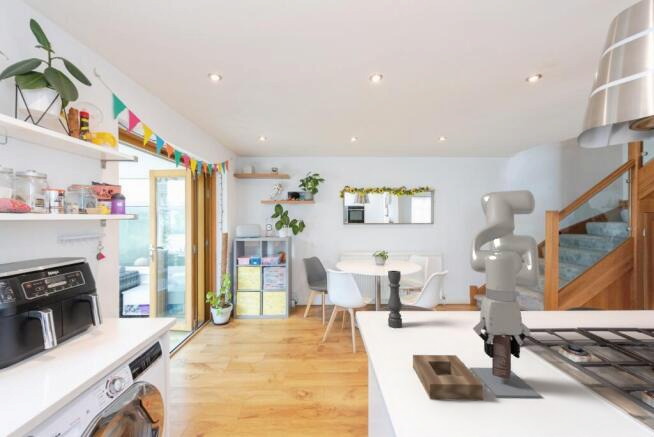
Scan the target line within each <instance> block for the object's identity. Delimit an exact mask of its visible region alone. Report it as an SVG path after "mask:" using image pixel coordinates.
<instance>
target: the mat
mask: <svg viewBox="0 0 654 437" xmlns="http://www.w3.org/2000/svg"><path fill="white" fill-rule="evenodd" d="M469 370H470V371H471V372H472V373H473V375H474V376H475V377H476V378H477V379H478V380H479V381H480V382H481V383H482V384H483V385H484V386H485V387H486V389H488V391H489V392H491V394H492V395H493V396H494V398H496V399H497V398H502V399H503V398H505V399H511V398H512V399H542V397H543V396H542V395H541V394H540V393H539V392H538V391H537V390H535V389H534V388H533V387H532V386H530V385H529V384H528V383H527V382H526V381H524V379H522V378H521V377H520V376H519V375H517V374H516V373H515V372H514V371H513V370H511V374H510V379H509V380H506V379H503V378H500V377H497V376H494V375H492V367H470V368H469Z"/></svg>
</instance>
